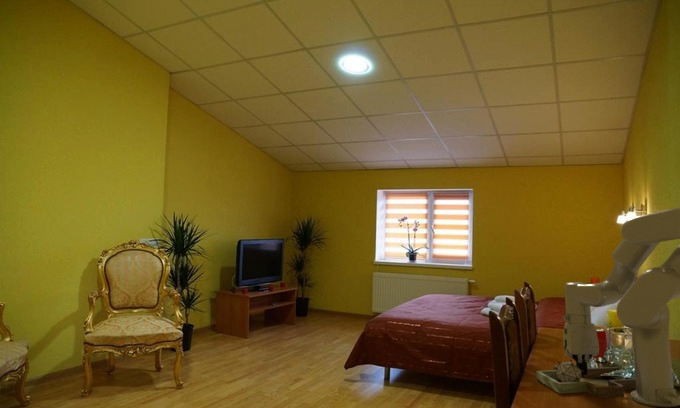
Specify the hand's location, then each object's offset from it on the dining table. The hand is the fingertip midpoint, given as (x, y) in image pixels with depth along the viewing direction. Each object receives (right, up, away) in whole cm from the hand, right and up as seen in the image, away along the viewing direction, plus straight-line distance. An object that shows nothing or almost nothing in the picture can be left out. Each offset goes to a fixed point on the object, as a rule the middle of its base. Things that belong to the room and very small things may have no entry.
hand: (582, 374), depth 157 cm
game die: (-5, -3, -2) cm, 6 cm away
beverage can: (+22, -5, +28) cm, 36 cm away
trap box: (+3, -3, 0) cm, 4 cm away
